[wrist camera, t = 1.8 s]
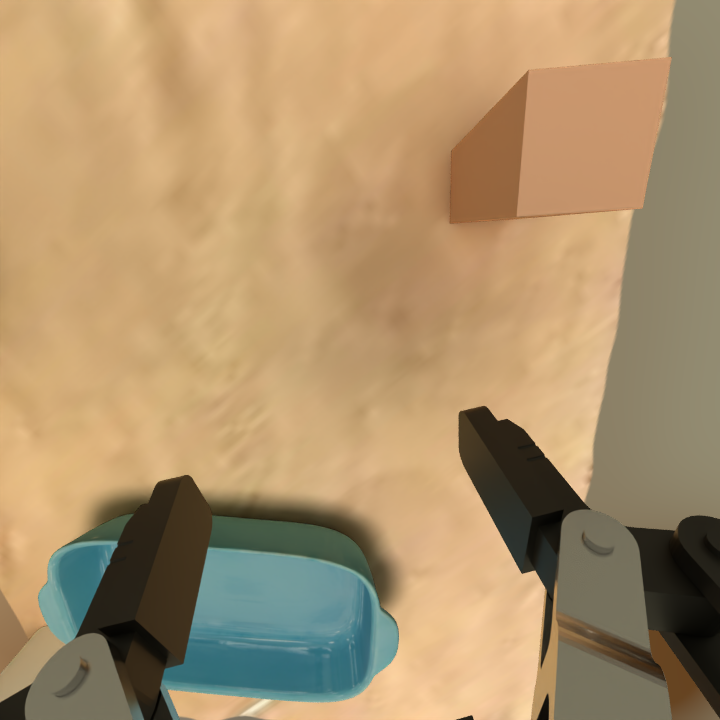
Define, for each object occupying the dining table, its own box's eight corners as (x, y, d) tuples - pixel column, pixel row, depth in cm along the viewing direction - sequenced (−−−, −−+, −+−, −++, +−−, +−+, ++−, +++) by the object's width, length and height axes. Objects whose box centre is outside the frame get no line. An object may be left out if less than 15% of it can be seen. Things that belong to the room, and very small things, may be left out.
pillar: (449, 223, 28) (516, 216, 15) (451, 150, 26) (528, 69, 13) (514, 219, 28) (642, 208, 14) (520, 145, 26) (672, 57, 13)
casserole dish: (108, 623, 46) (62, 689, 40) (65, 484, 39) (0, 538, 32) (388, 643, 45) (390, 714, 39) (402, 505, 38) (408, 564, 31)
